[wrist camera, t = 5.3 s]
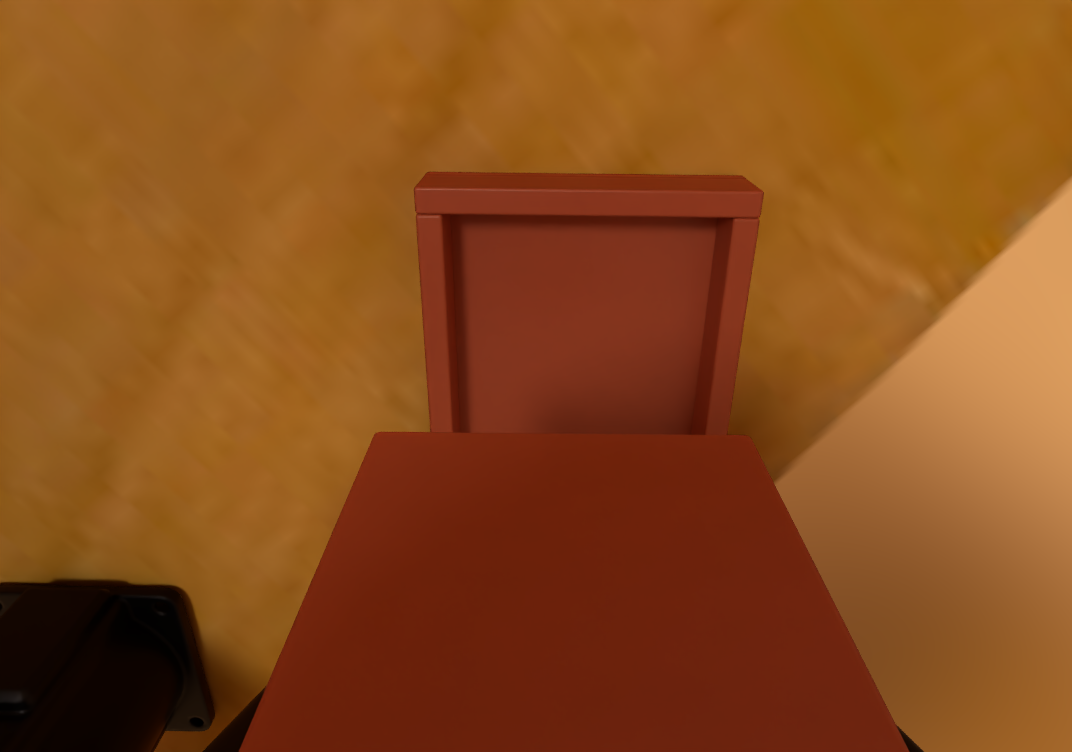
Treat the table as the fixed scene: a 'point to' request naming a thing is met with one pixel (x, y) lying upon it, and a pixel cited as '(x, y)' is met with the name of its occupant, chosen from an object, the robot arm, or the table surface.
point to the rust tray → (584, 300)
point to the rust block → (568, 607)
